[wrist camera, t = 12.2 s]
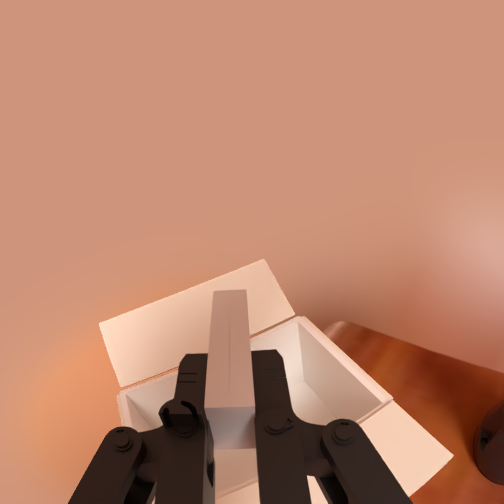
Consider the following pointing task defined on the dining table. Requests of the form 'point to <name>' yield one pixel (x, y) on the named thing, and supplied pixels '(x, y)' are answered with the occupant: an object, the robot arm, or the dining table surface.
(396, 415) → the carton
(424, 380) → the dining table surface
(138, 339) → the front flap
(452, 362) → the dining table surface
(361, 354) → the dining table surface
